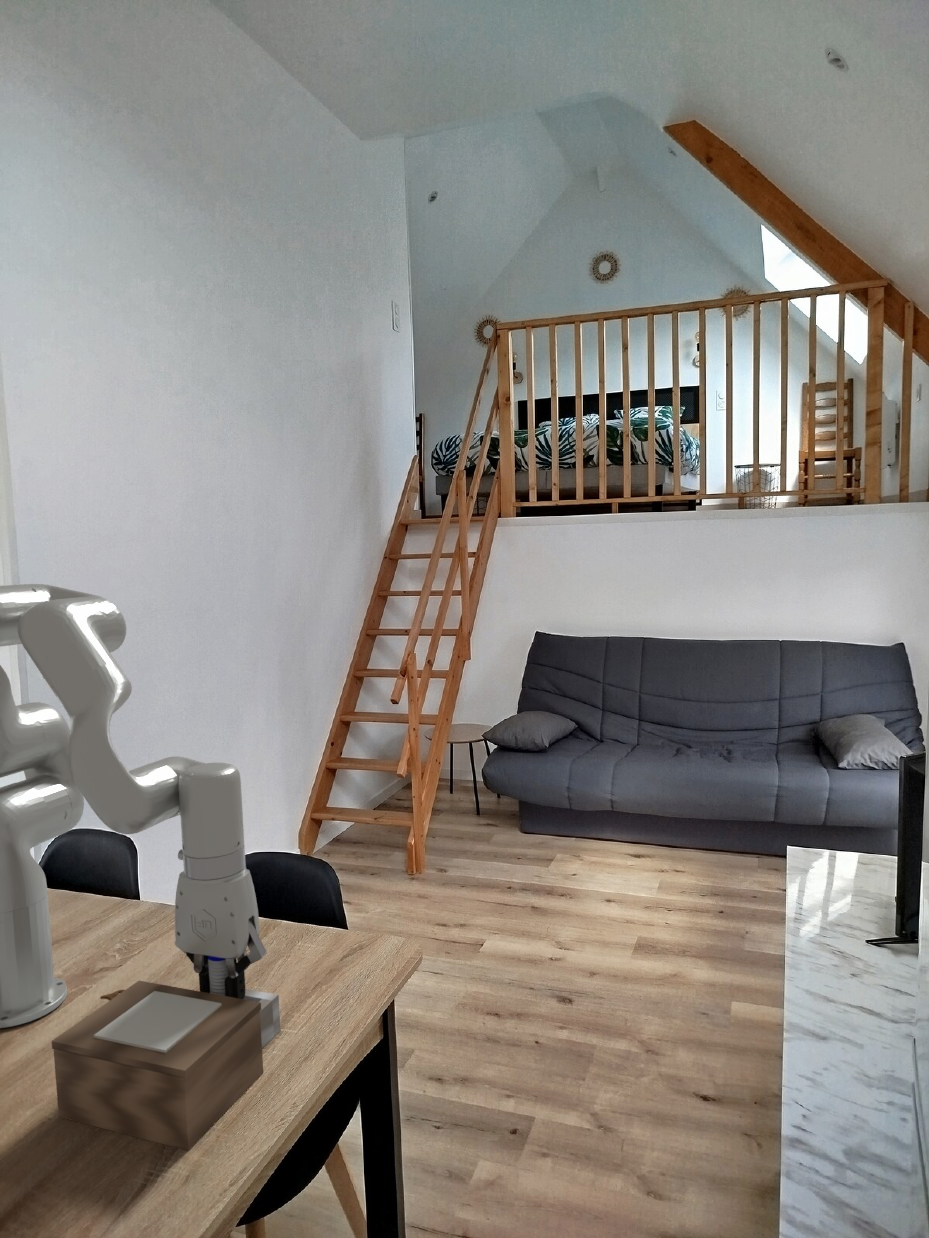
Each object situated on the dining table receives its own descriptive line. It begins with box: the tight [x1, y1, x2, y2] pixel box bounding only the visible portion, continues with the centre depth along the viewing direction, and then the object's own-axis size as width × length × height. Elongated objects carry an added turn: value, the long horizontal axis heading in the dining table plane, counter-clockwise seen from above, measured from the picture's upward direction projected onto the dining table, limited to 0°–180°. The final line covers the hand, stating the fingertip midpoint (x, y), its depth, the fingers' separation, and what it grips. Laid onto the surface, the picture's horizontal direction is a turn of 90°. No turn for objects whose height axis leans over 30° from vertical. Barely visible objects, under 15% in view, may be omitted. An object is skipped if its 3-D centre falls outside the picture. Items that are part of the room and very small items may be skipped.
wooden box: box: [51, 980, 281, 1151], centre depth 103 cm, size 18×22×9 cm
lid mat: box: [94, 991, 222, 1053], centre depth 99 cm, size 10×10×1 cm
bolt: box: [208, 956, 228, 996], centre depth 108 cm, size 16×5×5 cm
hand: (223, 999), depth 108 cm, fingers closed on bolt, 3 cm apart
